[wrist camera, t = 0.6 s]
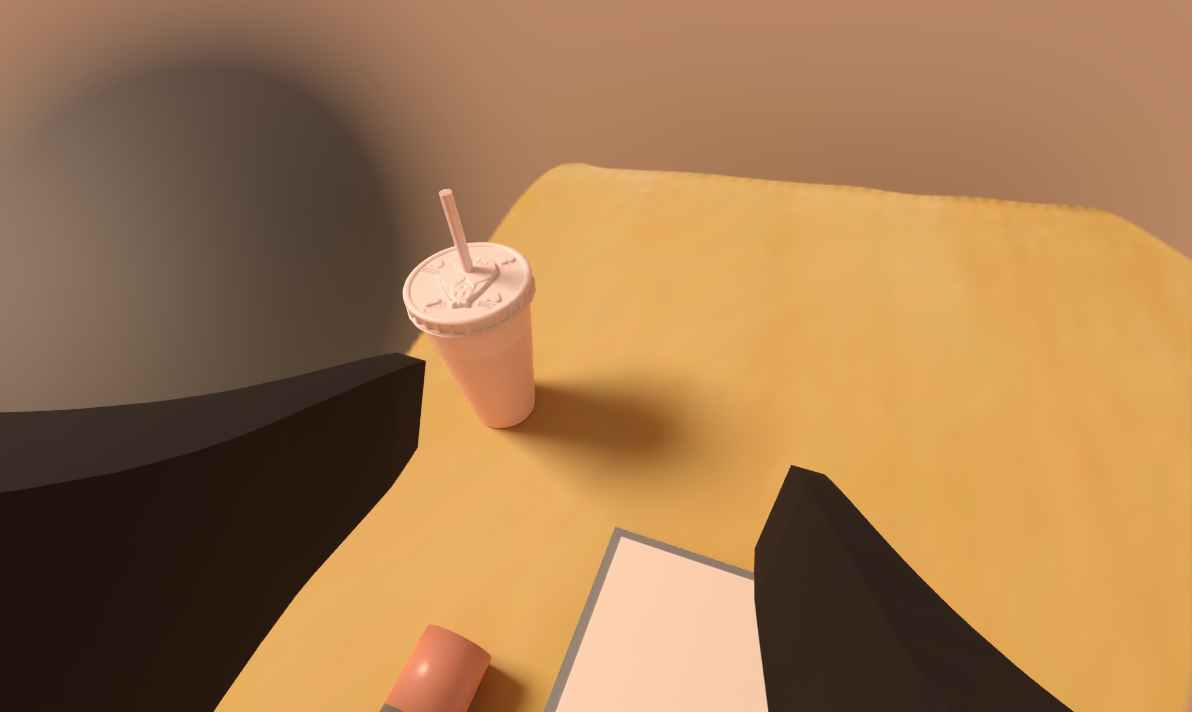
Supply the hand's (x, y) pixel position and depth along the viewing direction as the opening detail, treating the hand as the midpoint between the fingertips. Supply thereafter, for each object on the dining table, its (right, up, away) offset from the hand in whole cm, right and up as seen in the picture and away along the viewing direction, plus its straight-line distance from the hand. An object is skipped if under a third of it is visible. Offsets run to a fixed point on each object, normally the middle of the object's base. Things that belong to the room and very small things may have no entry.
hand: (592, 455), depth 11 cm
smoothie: (-5, -1, +23) cm, 24 cm away
